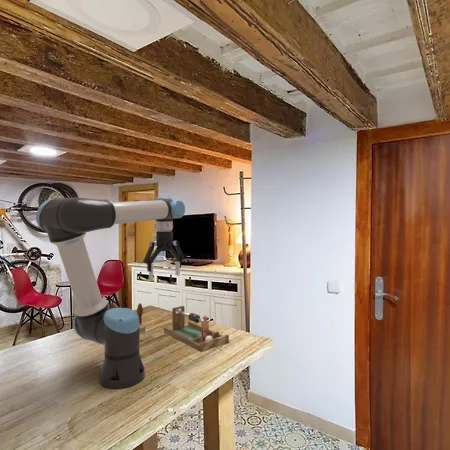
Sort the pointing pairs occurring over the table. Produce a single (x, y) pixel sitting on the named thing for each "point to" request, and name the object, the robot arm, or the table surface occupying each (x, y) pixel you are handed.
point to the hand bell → (141, 328)
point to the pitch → (193, 333)
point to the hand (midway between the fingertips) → (164, 277)
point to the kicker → (196, 319)
